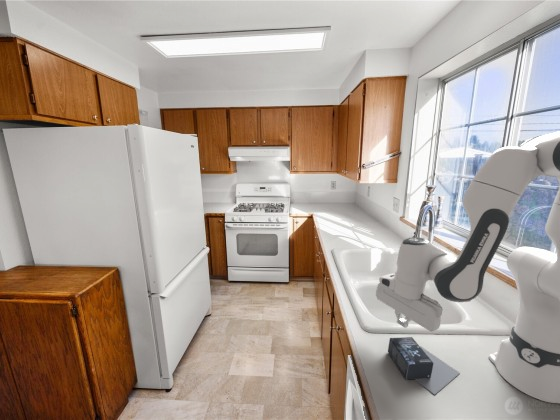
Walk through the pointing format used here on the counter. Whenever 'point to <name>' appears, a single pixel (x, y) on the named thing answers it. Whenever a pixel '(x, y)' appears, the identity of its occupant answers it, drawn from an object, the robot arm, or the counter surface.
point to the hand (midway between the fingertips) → (402, 324)
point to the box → (410, 358)
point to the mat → (437, 374)
